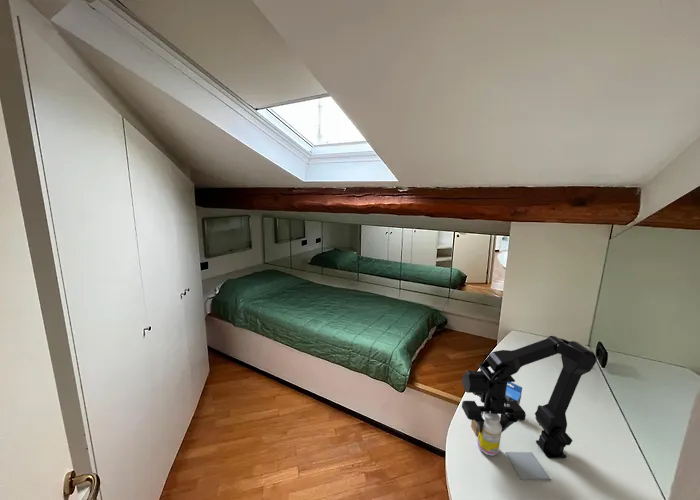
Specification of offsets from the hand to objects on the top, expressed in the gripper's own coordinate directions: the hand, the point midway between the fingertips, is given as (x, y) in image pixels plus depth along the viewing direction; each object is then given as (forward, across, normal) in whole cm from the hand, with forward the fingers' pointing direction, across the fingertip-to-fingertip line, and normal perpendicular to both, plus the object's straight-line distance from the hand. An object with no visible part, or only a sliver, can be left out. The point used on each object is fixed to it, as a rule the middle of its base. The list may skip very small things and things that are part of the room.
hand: (489, 431), depth 97 cm
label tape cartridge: (+8, -16, -18) cm, 25 cm away
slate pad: (+7, -10, +6) cm, 14 cm away
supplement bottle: (+7, 0, 0) cm, 7 cm away
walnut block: (+7, -1, -8) cm, 11 cm away
